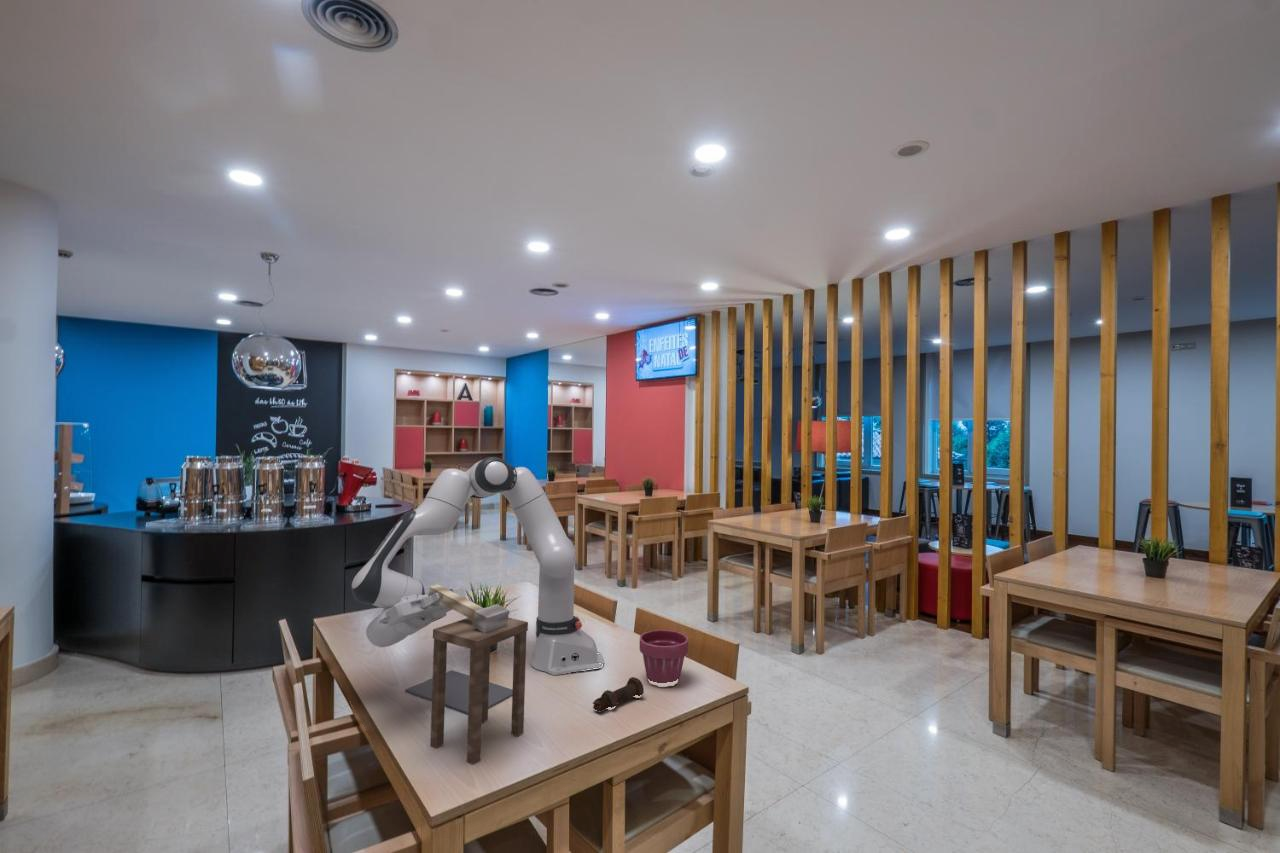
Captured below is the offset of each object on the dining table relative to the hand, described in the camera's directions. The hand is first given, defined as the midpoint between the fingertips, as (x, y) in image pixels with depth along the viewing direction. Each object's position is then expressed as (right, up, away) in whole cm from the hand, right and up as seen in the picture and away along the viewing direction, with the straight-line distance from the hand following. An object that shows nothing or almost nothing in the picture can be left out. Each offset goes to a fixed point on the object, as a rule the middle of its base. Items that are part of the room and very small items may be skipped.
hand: (446, 593), depth 138 cm
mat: (-2, -32, +17) cm, 36 cm away
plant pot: (+54, -34, +27) cm, 69 cm away
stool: (+10, -32, -7) cm, 34 cm away
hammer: (+4, -3, -3) cm, 6 cm away
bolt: (+41, -33, +12) cm, 54 cm away
